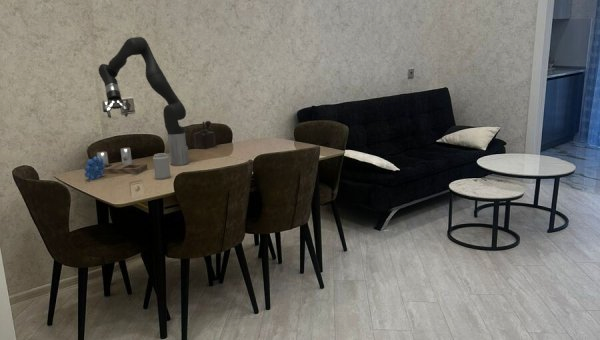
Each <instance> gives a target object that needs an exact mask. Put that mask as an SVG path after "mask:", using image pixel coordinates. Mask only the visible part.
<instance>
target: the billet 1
mask: <svg viewBox="0 0 600 340" xmlns="http://www.w3.org/2000/svg"><path fill="white" fill-rule="evenodd" d="M96 156H97V157H98V159H99V158H102V159H103V163H104V164H105V168H107V167H109V164H110V163H109V158H108V157H109V156H108V152H107V151H98V152H96Z"/></svg>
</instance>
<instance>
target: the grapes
mask: <svg viewBox="0 0 600 340" xmlns="http://www.w3.org/2000/svg"><path fill="white" fill-rule="evenodd" d="M104 168H105V164H104V163H103V159H102V158H99V159H98V157H97V155H96V156H93V157H92V158H89V159H88V160H87V163H86V165H85V166H84V172H85V173H84V177H85V178H86V179H87V178H88V180H89V181H93V180H99V179H100V177H101V176H103V175H105V174H104V171H103V170H102V169H104Z"/></svg>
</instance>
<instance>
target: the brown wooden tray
mask: <svg viewBox="0 0 600 340" xmlns="http://www.w3.org/2000/svg"><path fill="white" fill-rule="evenodd" d="M108 164H109V167H107V168H104V169H102V170H103V171H104V174H103V175H106V174H107V175H108V174H109V175H116V174H117V175H125V174H126V175H131V176H138V175H139V174H142V173H144V172H146V171H148V170H149V169H148V164H147V163H146V164H145V163H132V164H122V163H114V164H113V163H108Z"/></svg>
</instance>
